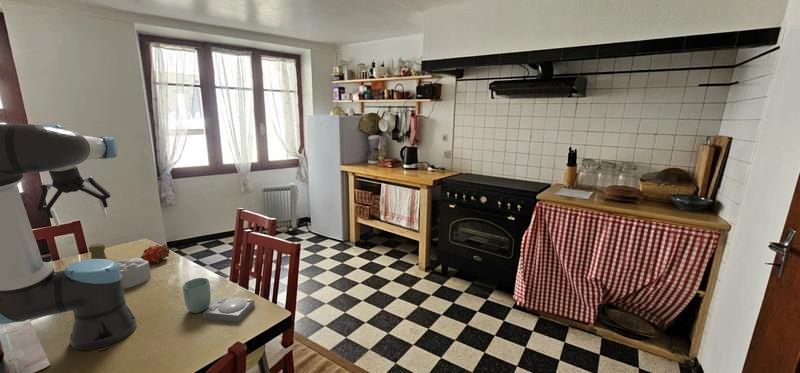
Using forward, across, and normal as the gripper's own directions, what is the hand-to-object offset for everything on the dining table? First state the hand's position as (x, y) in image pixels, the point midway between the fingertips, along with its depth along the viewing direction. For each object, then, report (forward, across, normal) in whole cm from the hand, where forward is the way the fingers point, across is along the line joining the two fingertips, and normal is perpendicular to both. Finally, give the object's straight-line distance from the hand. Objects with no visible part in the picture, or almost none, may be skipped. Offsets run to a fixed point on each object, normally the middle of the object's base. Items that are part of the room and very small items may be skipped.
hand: (82, 219), depth 129 cm
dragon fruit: (+28, -18, -2) cm, 34 cm away
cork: (+27, +2, -8) cm, 28 cm away
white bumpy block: (+25, -8, +13) cm, 30 cm away
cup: (+21, -28, +51) cm, 62 cm away
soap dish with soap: (+21, -36, +58) cm, 72 cm away
